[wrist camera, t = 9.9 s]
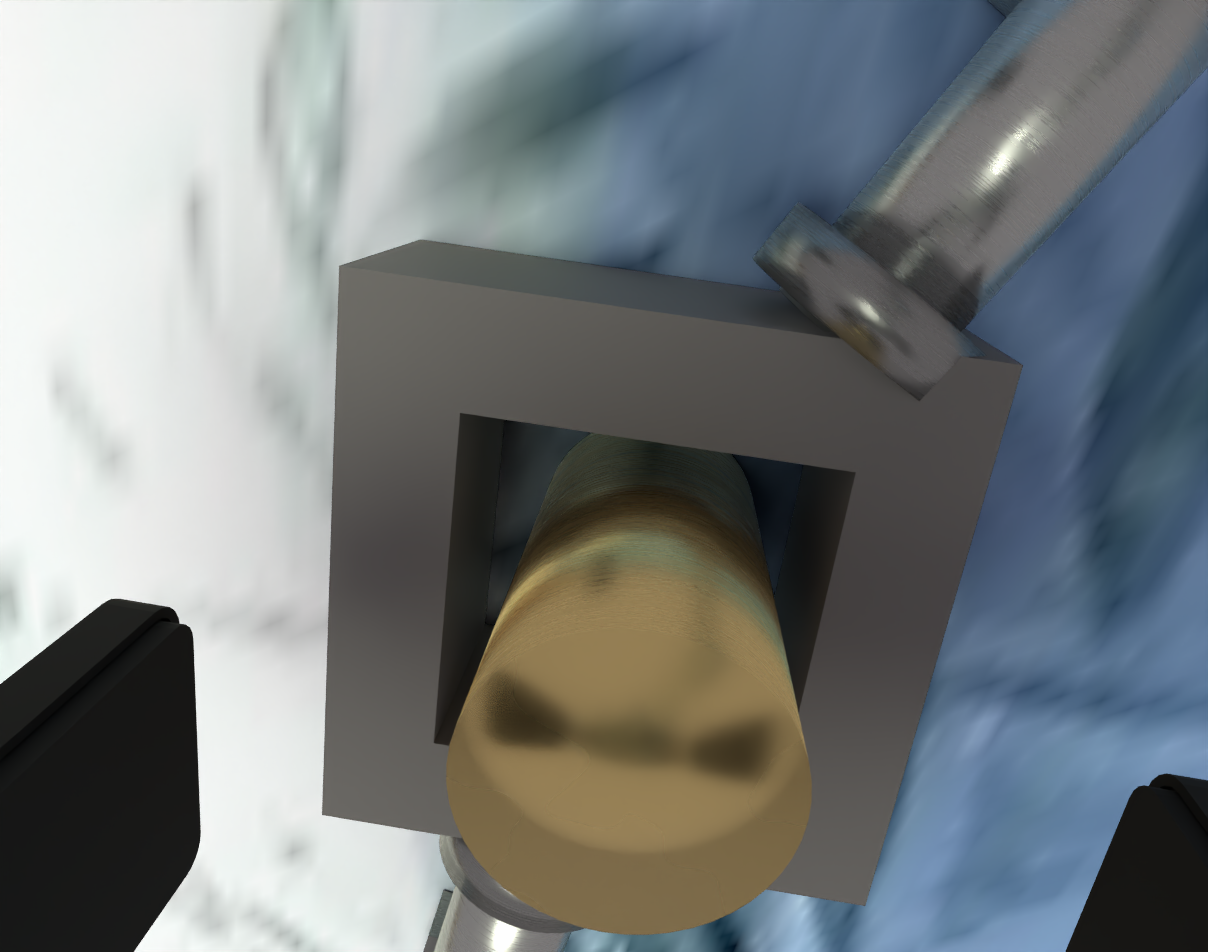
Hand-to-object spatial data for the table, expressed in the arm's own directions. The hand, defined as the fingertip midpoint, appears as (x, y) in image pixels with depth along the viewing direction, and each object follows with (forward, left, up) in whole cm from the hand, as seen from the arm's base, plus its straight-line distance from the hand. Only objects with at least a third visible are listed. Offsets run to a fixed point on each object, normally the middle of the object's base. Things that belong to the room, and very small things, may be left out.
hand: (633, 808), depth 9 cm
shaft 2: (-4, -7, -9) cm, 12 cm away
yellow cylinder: (0, 0, -9) cm, 9 cm away
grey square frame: (0, 0, -9) cm, 9 cm away
